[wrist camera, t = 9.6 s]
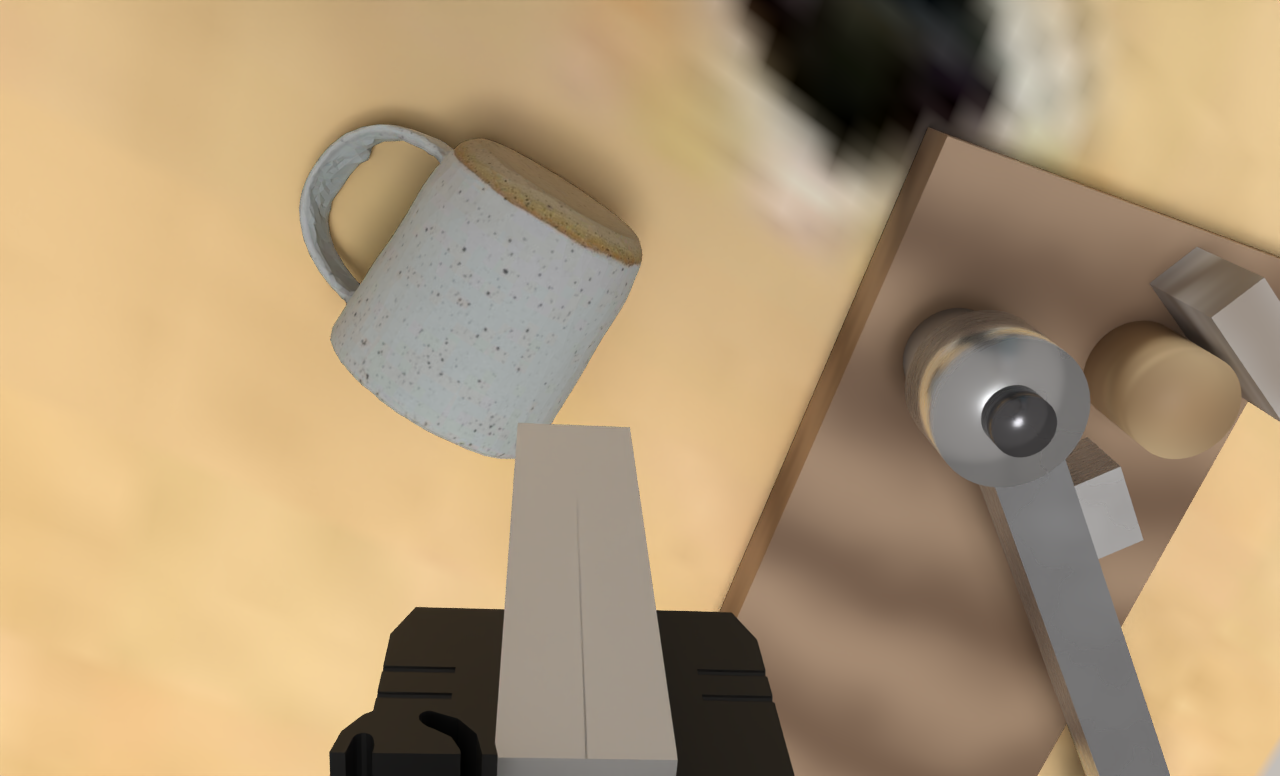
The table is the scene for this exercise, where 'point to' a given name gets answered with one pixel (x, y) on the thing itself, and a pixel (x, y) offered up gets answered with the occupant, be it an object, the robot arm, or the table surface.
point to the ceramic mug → (474, 288)
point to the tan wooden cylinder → (1162, 389)
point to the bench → (948, 503)
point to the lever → (1044, 514)
